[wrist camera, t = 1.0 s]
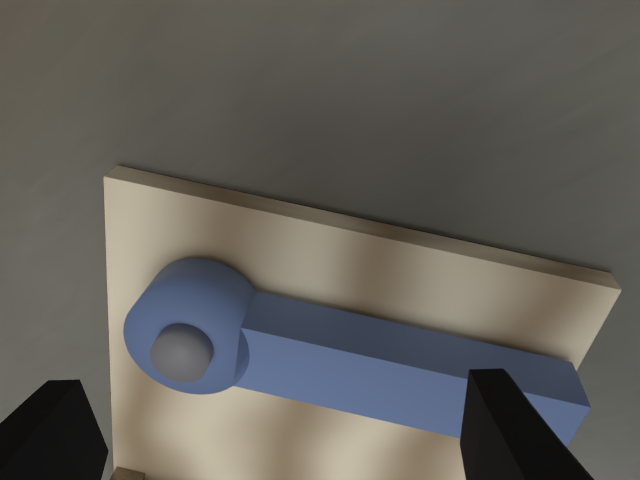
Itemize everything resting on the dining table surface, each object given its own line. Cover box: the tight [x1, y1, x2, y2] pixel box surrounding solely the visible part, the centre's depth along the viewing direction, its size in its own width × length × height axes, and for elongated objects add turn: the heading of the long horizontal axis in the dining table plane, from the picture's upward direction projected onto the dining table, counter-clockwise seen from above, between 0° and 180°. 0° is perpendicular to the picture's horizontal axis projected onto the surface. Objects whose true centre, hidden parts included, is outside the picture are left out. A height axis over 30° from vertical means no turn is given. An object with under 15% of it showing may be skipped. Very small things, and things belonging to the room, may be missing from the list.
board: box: [104, 165, 622, 480], centre depth 25 cm, size 20×20×1 cm
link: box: [123, 258, 591, 448], centre depth 21 cm, size 18×5×3 cm, turn 80°
